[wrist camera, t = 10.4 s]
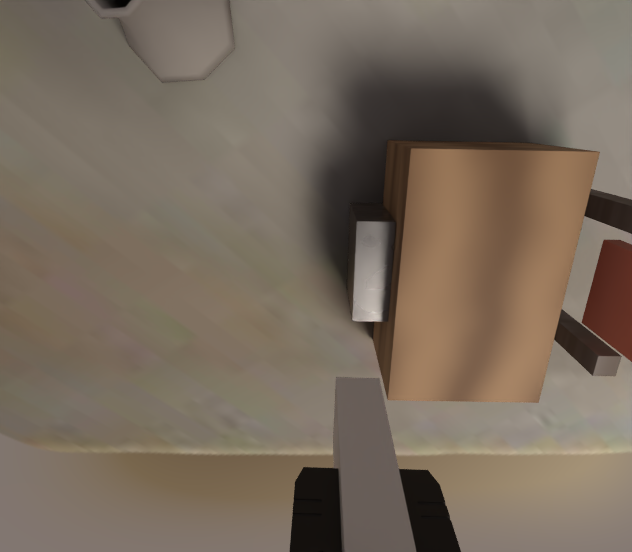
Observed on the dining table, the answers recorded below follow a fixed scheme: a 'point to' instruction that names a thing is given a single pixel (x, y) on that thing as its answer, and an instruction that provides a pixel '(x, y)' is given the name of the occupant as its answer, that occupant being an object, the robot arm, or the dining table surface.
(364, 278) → the dark grey block
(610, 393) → the dining table surface
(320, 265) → the dining table surface
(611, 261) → the block
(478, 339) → the block
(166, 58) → the flask
